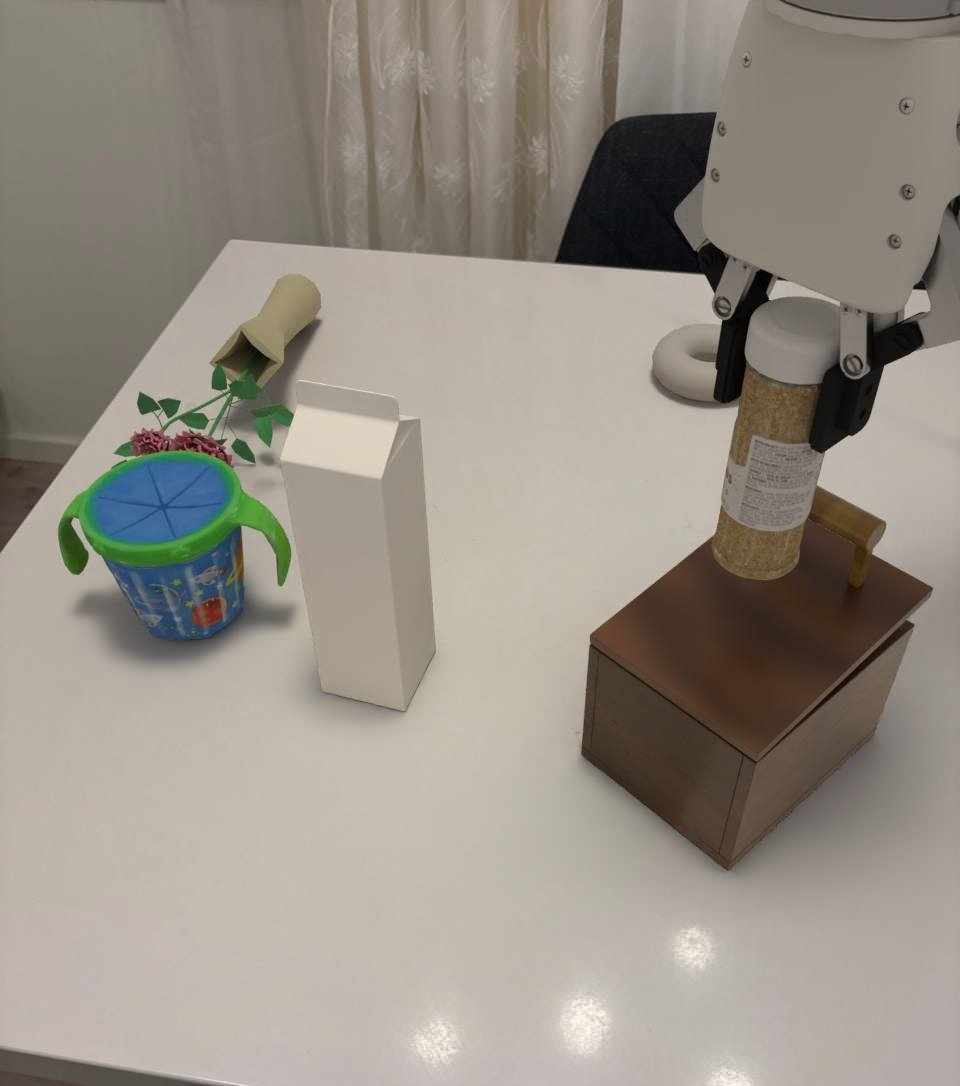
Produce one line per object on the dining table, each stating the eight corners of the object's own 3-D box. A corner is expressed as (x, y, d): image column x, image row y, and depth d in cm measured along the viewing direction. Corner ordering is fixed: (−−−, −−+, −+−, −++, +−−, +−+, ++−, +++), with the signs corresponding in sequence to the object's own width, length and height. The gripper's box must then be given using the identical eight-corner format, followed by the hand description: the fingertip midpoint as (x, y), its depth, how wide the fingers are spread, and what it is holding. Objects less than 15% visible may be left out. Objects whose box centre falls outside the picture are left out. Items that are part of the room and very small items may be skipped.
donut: (627, 378, 98) (713, 422, 92) (629, 344, 95) (717, 387, 90) (700, 339, 102) (785, 379, 97) (704, 305, 100) (792, 344, 94)
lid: (762, 503, 66) (772, 431, 62) (931, 597, 60) (954, 524, 56) (589, 643, 61) (587, 574, 56) (756, 763, 54) (768, 695, 50)
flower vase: (337, 400, 109) (249, 566, 80) (219, 361, 108) (86, 516, 79) (365, 287, 103) (282, 423, 74) (240, 245, 102) (105, 366, 73)
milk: (356, 632, 76) (316, 349, 60) (437, 650, 74) (418, 366, 59) (320, 694, 71) (268, 408, 56) (406, 714, 70) (376, 427, 54)
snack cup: (57, 645, 75) (10, 532, 68) (124, 548, 82) (87, 436, 75) (269, 678, 73) (243, 564, 65) (319, 575, 80) (300, 462, 72)
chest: (728, 639, 74) (750, 529, 67) (874, 734, 68) (915, 624, 61) (580, 753, 68) (588, 644, 61) (727, 871, 61) (755, 764, 54)
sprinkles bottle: (719, 520, 58) (760, 285, 48) (805, 537, 57) (865, 300, 47) (701, 574, 55) (742, 335, 45) (792, 593, 54) (854, 353, 44)
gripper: (1184, -16, 34) (997, 460, 47) (750, -100, 43) (694, 319, 56) (1067, 39, 30) (900, 537, 43) (622, -65, 39) (594, 373, 52)
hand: (785, 410), depth 50 cm, fingers closed on sprinkles bottle, 4 cm apart
